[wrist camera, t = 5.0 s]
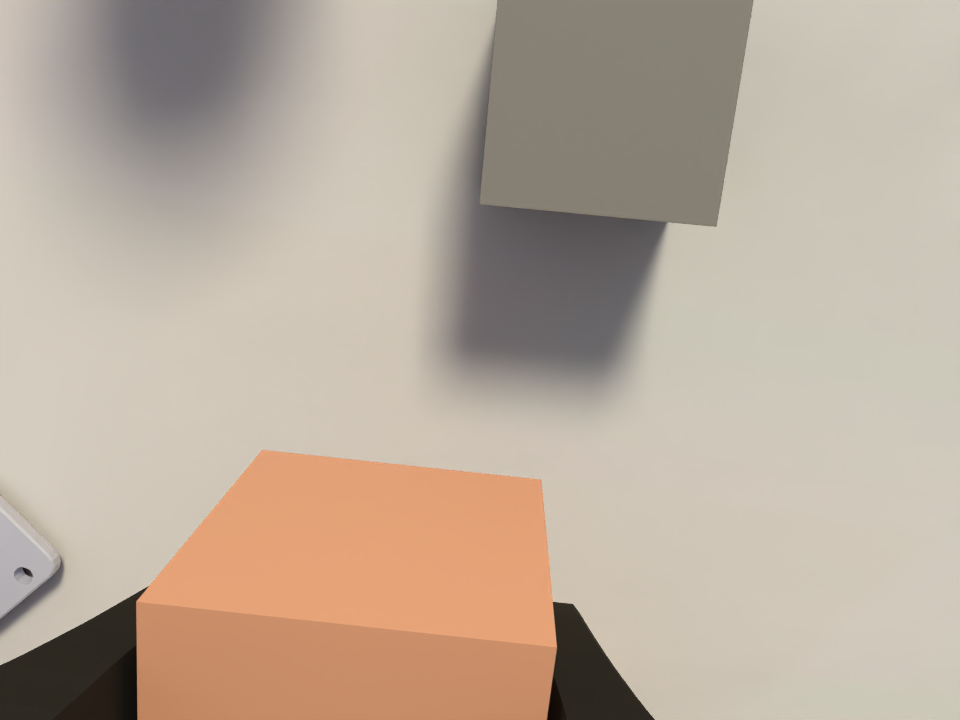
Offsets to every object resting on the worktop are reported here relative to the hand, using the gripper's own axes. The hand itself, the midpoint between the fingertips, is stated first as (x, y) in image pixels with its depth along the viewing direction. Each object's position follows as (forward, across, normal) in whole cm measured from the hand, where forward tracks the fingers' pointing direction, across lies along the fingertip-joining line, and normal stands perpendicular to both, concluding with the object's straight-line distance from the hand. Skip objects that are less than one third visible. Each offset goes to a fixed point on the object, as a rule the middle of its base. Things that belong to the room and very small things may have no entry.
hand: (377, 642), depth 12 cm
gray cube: (+10, -3, -8) cm, 13 cm away
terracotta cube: (+2, 0, 0) cm, 2 cm away
